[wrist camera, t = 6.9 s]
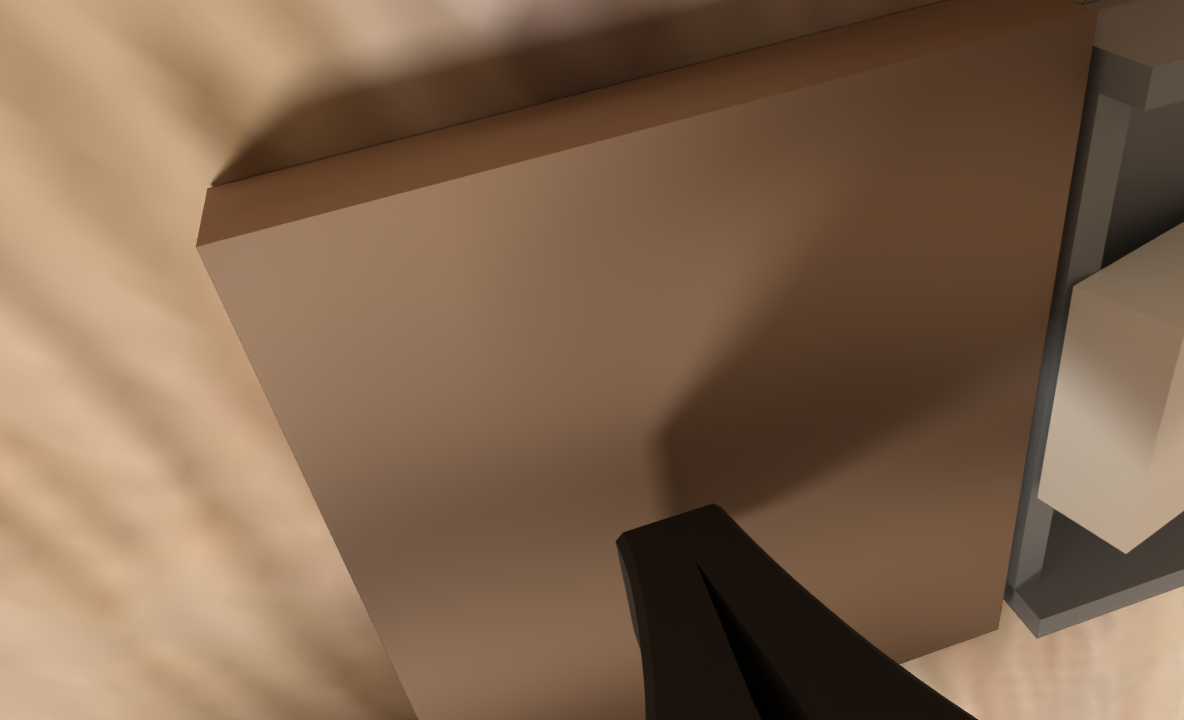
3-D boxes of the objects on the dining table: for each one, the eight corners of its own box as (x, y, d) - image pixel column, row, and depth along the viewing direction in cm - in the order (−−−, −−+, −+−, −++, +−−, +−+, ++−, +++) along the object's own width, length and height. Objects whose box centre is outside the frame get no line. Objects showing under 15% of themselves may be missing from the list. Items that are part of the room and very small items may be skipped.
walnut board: (950, 569, 18) (998, 629, 17) (451, 740, 16) (464, 818, 15) (1013, -17, 11) (1098, 10, 10) (207, 188, 10) (196, 247, 9)
